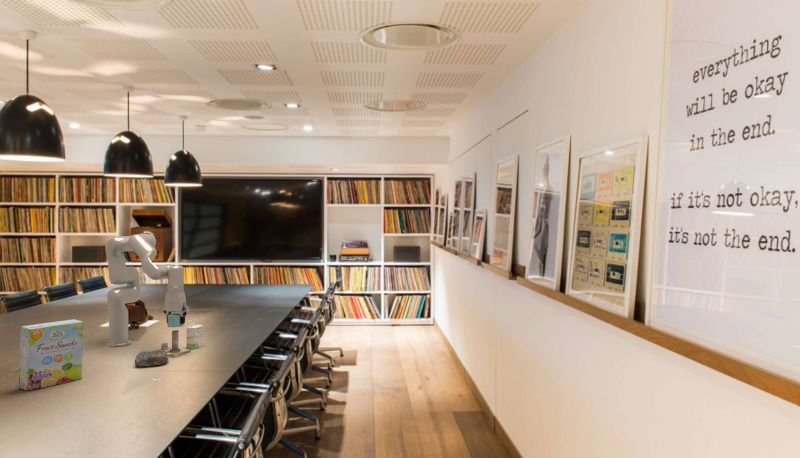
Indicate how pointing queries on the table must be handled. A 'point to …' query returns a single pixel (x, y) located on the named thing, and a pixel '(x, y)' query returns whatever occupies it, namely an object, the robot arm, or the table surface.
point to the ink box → (194, 335)
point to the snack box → (50, 354)
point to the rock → (151, 358)
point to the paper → (156, 379)
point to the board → (182, 351)
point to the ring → (174, 320)
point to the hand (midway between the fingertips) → (175, 323)
